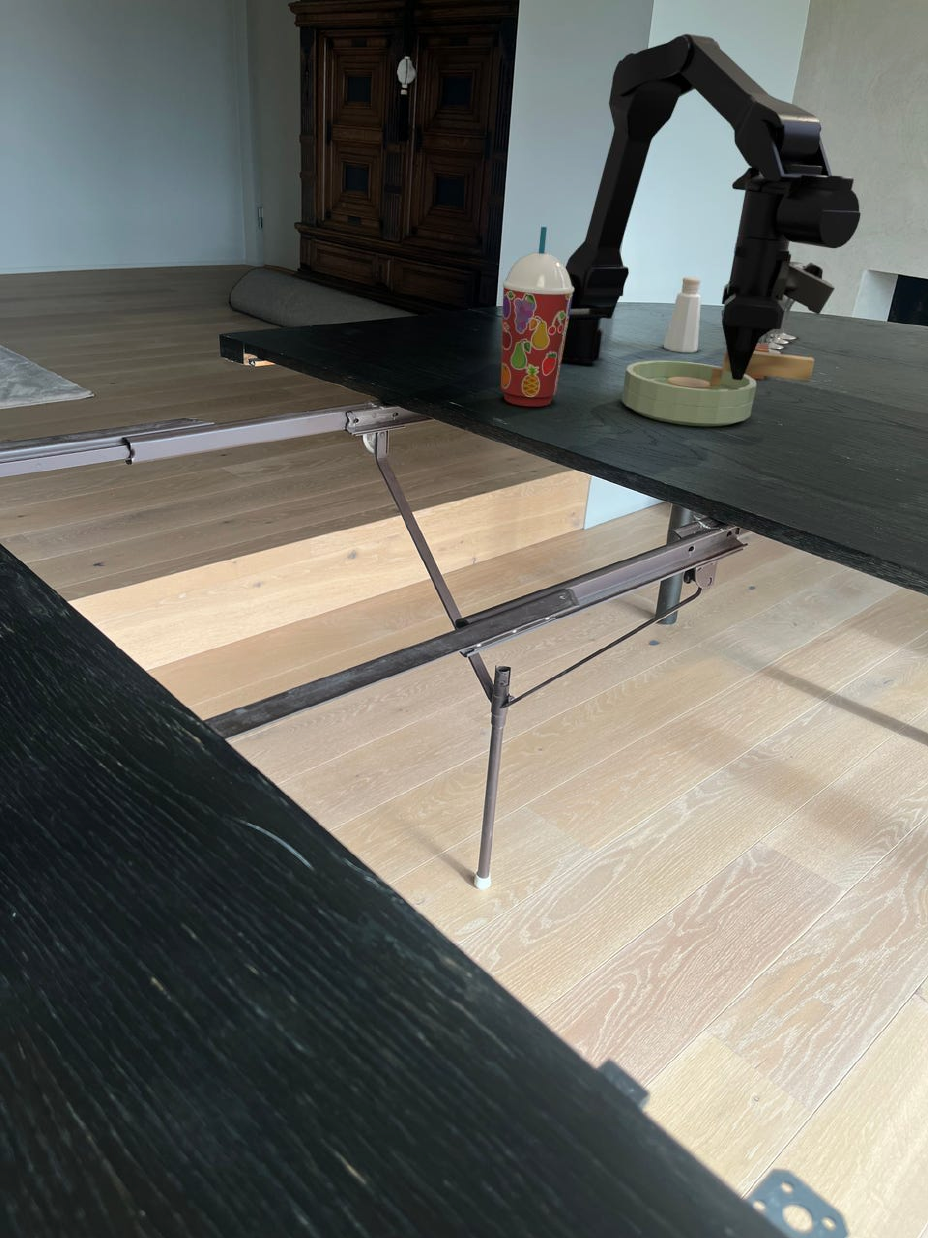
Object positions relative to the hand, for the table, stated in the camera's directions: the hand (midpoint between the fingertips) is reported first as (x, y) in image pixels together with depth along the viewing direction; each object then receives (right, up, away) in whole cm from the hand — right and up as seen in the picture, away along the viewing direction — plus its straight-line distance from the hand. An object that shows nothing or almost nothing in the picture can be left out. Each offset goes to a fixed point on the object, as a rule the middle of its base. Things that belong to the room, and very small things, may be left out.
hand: (736, 377), depth 114 cm
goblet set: (+20, +18, +49) cm, 56 cm away
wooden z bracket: (0, -3, +2) cm, 4 cm away
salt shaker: (+3, +15, +41) cm, 44 cm away
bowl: (-5, -3, +5) cm, 8 cm away
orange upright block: (+10, +7, +27) cm, 30 cm away
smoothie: (-25, -2, +4) cm, 25 cm away
